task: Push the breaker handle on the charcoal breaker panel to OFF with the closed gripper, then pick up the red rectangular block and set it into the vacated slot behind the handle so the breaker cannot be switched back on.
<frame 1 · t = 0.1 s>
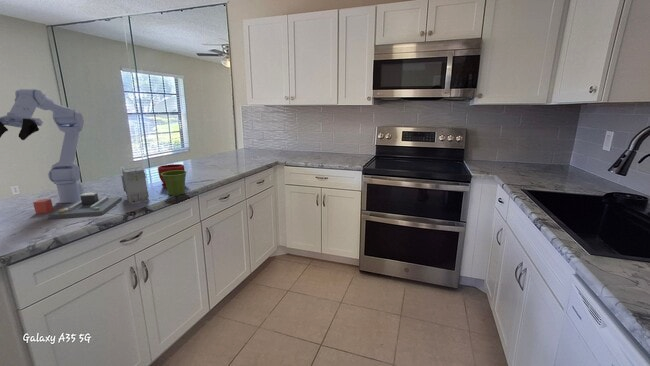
hand: (8, 138, 102), 32 cm above the worktop, tool tilted 50°, fingers open, 7 cm apart
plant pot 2: (173, 186, 163), on the worktop
breaker handle: (89, 198, 127), point 4 cm above the worktop, slide at 0.0 cm
circuit breaker: (136, 199, 140), on the worktop
plant pot: (176, 194, 148), on the worktop
red rectangular block: (44, 211, 122), on the worktop
breaker panel: (89, 208, 126), on the worktop
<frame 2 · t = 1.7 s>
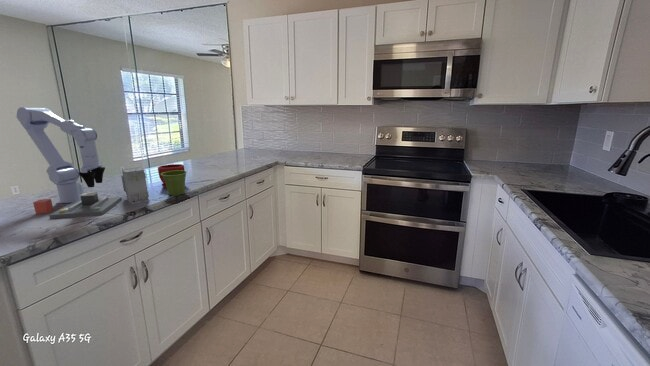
hand: (95, 184, 132), 8 cm above the worktop, tool pointing down, fingers open, 7 cm apart
nothing on the worktop moved.
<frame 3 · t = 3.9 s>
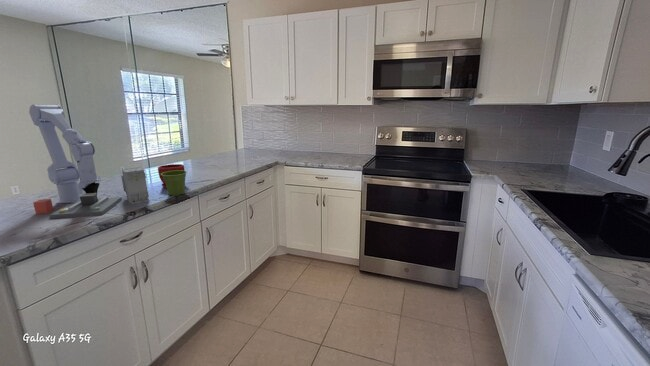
hand: (93, 199, 129), 3 cm above the worktop, tool pointing down, fingers closed
breaker handle: (89, 199, 126), point 4 cm above the worktop, slide at 0.6 cm, touching gripper
everything else where it was.
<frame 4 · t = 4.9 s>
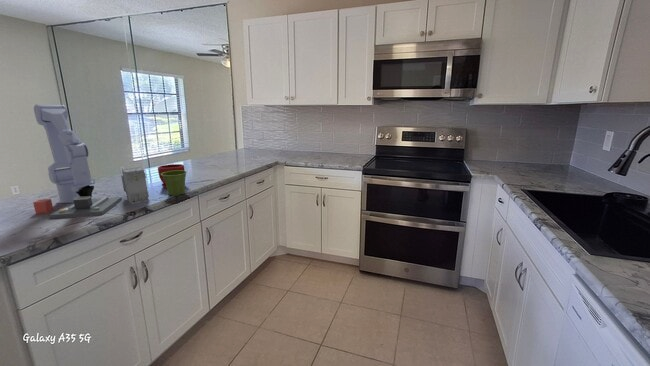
hand: (87, 203, 125), 3 cm above the worktop, tool pointing down, fingers closed
breaker handle: (83, 202, 121), point 4 cm above the worktop, slide at 5.5 cm, touching gripper
everything else where it was.
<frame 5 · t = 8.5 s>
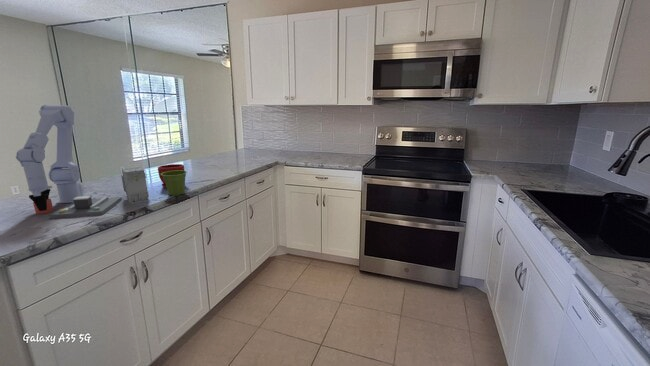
hand: (44, 208, 121), 1 cm above the worktop, tool pointing down, fingers closed on red rectangular block, 5 cm apart
breaker handle: (83, 202, 121), point 4 cm above the worktop, slide at 5.5 cm
red rectangular block: (44, 211, 122), on the worktop, touching gripper
everything else where it was.
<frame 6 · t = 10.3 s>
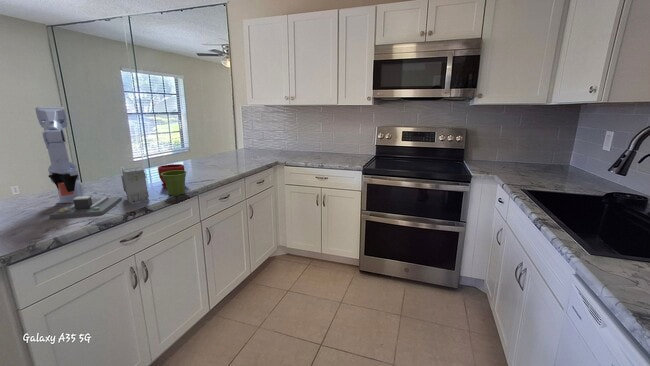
hand: (66, 190, 122), 8 cm above the worktop, tool pointing down, fingers closed on red rectangular block, 5 cm apart
red rectangular block: (67, 194, 123), point 7 cm above the worktop, touching gripper
everything else where it was.
when the fingers open (4 cm above the worktop, at t = 12.1 s): red rectangular block stays where it is, resting on breaker panel.
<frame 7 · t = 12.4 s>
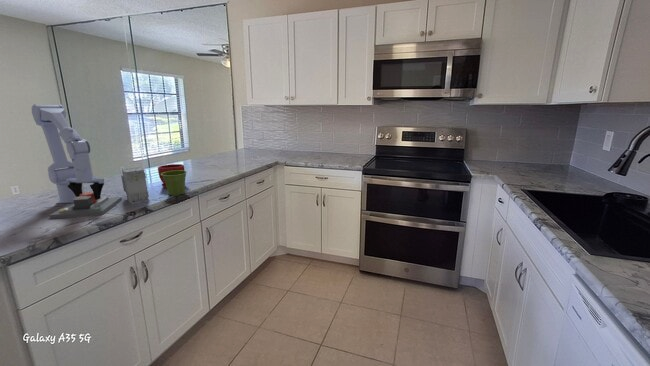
hand: (89, 199, 126), 4 cm above the worktop, tool pointing down, fingers open, 7 cm apart
red rectangular block: (89, 204, 126), point 1 cm above the worktop, touching breaker panel
everything else where it was.
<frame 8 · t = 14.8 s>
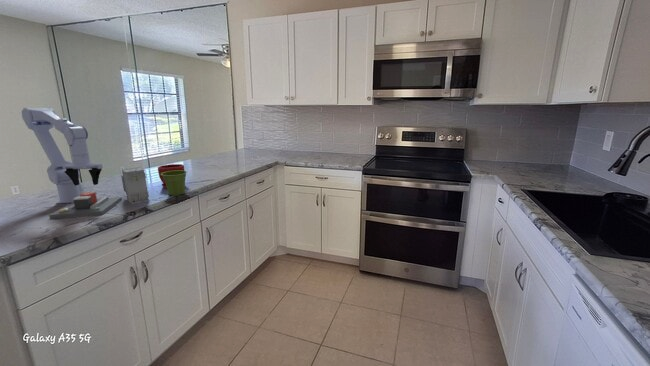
hand: (86, 184, 128), 9 cm above the worktop, tool pointing down, fingers open, 7 cm apart
nothing on the worktop moved.
at the end: breaker handle slide at 5.5 cm; red rectangular block 0.6 cm from the target spot on the breaker panel, point 1.5 cm above the breaker panel's base; red rectangular block tilted 0° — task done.
